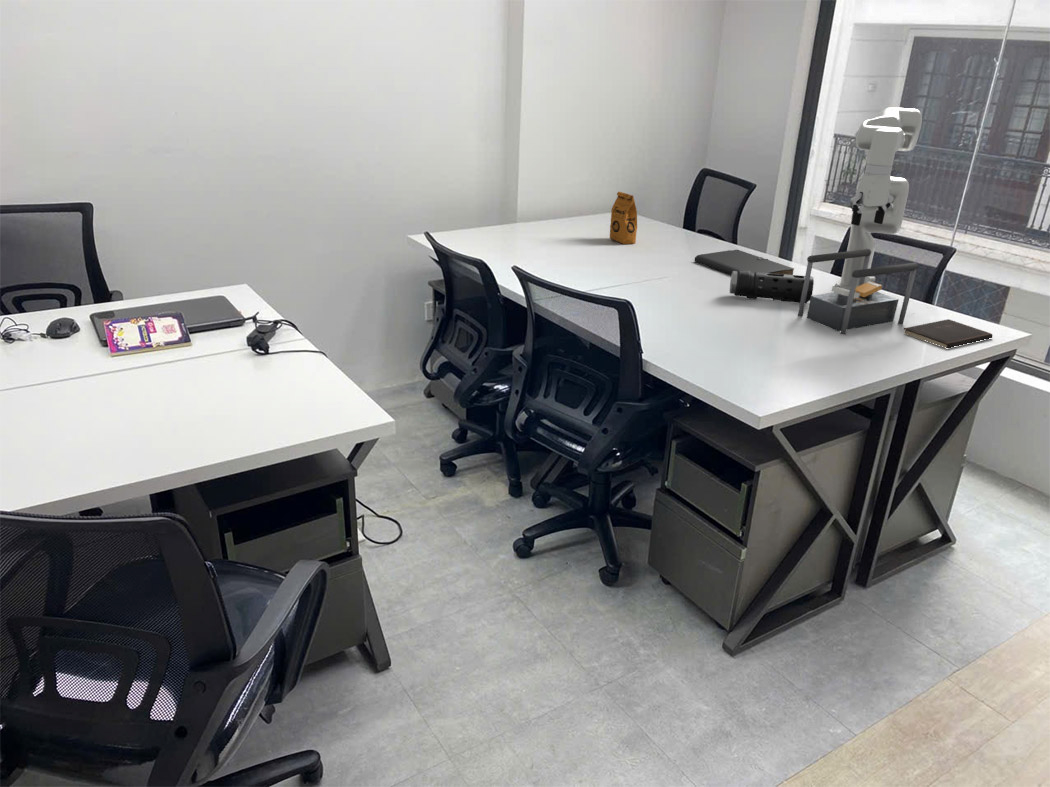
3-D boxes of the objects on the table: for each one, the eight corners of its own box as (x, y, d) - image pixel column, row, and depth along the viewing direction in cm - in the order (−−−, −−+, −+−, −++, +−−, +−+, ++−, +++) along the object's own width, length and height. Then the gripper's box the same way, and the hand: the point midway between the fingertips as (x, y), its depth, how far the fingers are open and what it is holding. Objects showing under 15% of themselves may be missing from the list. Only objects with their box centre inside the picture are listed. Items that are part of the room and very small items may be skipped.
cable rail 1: (855, 306, 279) (867, 248, 270) (860, 307, 277) (873, 249, 268) (795, 315, 267) (806, 255, 258) (800, 317, 265) (811, 256, 256)
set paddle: (846, 293, 262) (848, 289, 261) (858, 298, 258) (860, 293, 257) (831, 290, 258) (832, 285, 257) (842, 295, 254) (844, 290, 253)
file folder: (795, 267, 311) (750, 274, 301) (793, 277, 313) (749, 285, 302) (737, 248, 337) (695, 254, 327) (736, 257, 339) (693, 264, 328)
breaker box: (860, 309, 275) (866, 284, 271) (893, 321, 264) (899, 295, 260) (806, 318, 264) (811, 291, 260) (838, 331, 253) (844, 303, 249)
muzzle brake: (809, 307, 276) (815, 279, 271) (729, 300, 280) (733, 272, 276) (806, 300, 284) (811, 272, 280) (728, 293, 289) (732, 266, 285)
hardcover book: (902, 334, 254) (903, 328, 253) (946, 325, 264) (948, 319, 263) (946, 351, 241) (948, 344, 240) (991, 340, 251) (993, 334, 250)
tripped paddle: (869, 285, 265) (869, 280, 265) (881, 289, 261) (881, 284, 261) (852, 293, 263) (852, 288, 262) (863, 297, 259) (864, 292, 258)
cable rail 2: (899, 322, 263) (914, 261, 254) (905, 324, 261) (920, 263, 253) (837, 333, 251) (851, 269, 242) (843, 335, 249) (857, 271, 240)
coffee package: (620, 245, 351) (625, 196, 341) (606, 239, 361) (610, 191, 351) (639, 243, 355) (643, 195, 346) (624, 237, 365) (628, 190, 356)
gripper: (889, 167, 252) (878, 220, 259) (848, 169, 246) (837, 223, 253) (907, 171, 246) (895, 225, 253) (866, 172, 239) (854, 227, 247)
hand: (866, 224), depth 253 cm, fingers open, 9 cm apart
